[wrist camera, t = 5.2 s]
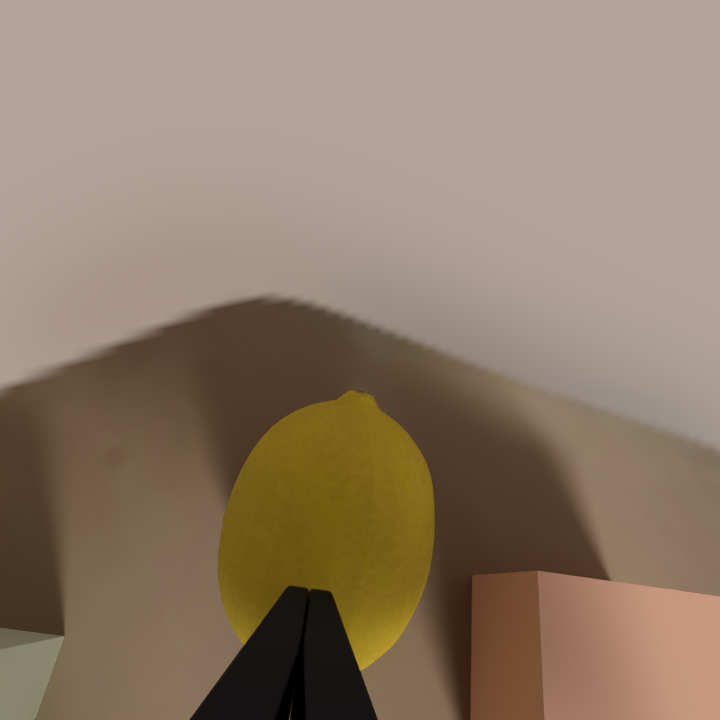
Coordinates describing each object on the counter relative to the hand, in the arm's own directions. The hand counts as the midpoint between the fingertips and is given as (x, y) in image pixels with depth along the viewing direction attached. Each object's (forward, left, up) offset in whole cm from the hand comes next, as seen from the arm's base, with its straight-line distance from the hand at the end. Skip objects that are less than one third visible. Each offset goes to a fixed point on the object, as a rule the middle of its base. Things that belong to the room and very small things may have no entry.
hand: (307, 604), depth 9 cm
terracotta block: (-2, -8, -7) cm, 10 cm away
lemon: (-2, 0, -5) cm, 6 cm away
